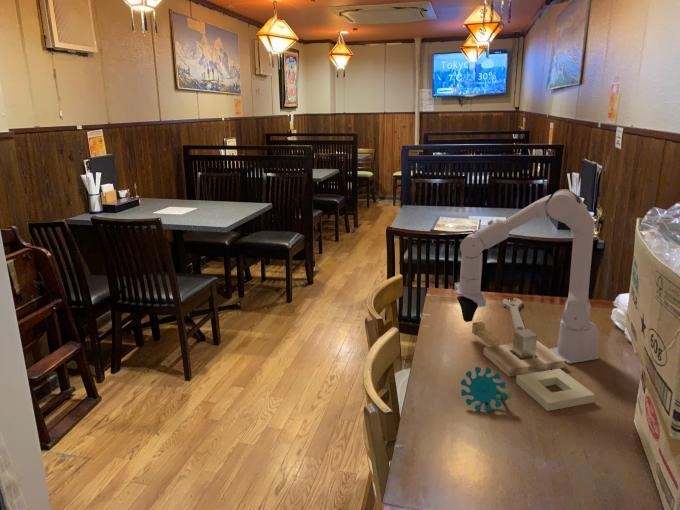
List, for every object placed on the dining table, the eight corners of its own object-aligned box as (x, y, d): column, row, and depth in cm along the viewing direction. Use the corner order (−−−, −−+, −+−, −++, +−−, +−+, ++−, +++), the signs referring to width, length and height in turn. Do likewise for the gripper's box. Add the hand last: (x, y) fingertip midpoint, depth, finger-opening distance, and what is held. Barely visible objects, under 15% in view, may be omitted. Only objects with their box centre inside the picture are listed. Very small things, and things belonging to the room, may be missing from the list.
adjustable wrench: (525, 335, 147) (526, 330, 146) (502, 333, 149) (503, 327, 148) (521, 303, 170) (521, 298, 169) (501, 301, 172) (501, 296, 171)
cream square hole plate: (558, 375, 124) (559, 368, 124) (593, 402, 113) (594, 394, 113) (515, 382, 121) (516, 375, 121) (547, 410, 110) (548, 403, 110)
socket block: (535, 346, 139) (536, 339, 139) (564, 367, 128) (565, 360, 127) (483, 354, 135) (483, 347, 135) (508, 376, 124) (509, 369, 124)
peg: (524, 356, 134) (527, 328, 132) (534, 363, 130) (537, 335, 128) (511, 358, 133) (514, 330, 131) (520, 365, 129) (523, 337, 127)
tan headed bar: (481, 331, 141) (482, 321, 140) (500, 346, 132) (501, 336, 131) (472, 332, 140) (472, 322, 140) (490, 348, 131) (491, 337, 131)
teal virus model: (454, 401, 111) (467, 359, 115) (455, 407, 116) (467, 366, 120) (505, 419, 107) (517, 375, 111) (503, 424, 112) (514, 382, 116)
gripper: (446, 269, 147) (443, 312, 151) (470, 286, 134) (467, 333, 138) (467, 267, 149) (465, 310, 153) (494, 283, 135) (490, 329, 139)
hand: (467, 320), depth 145 cm, fingers closed
